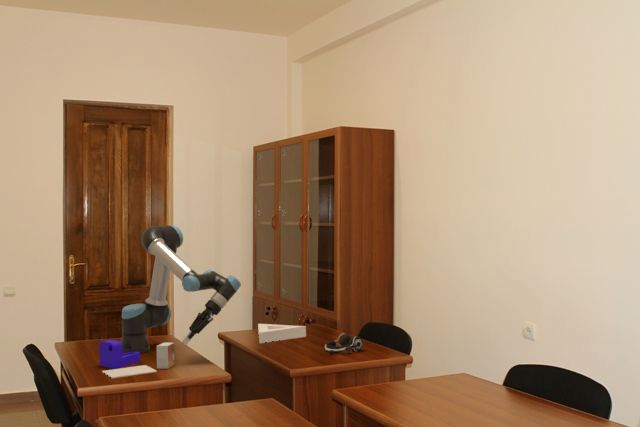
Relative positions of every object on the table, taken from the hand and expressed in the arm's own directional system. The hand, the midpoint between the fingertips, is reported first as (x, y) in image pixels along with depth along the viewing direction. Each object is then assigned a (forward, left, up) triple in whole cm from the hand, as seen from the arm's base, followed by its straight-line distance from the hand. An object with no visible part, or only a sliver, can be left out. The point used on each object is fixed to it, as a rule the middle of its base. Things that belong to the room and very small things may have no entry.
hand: (183, 343), depth 335 cm
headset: (+19, +76, -10) cm, 79 cm away
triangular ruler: (-32, +70, -11) cm, 78 cm away
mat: (0, -26, -10) cm, 27 cm away
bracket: (-18, -22, -10) cm, 31 cm away
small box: (0, -9, -10) cm, 13 cm away
